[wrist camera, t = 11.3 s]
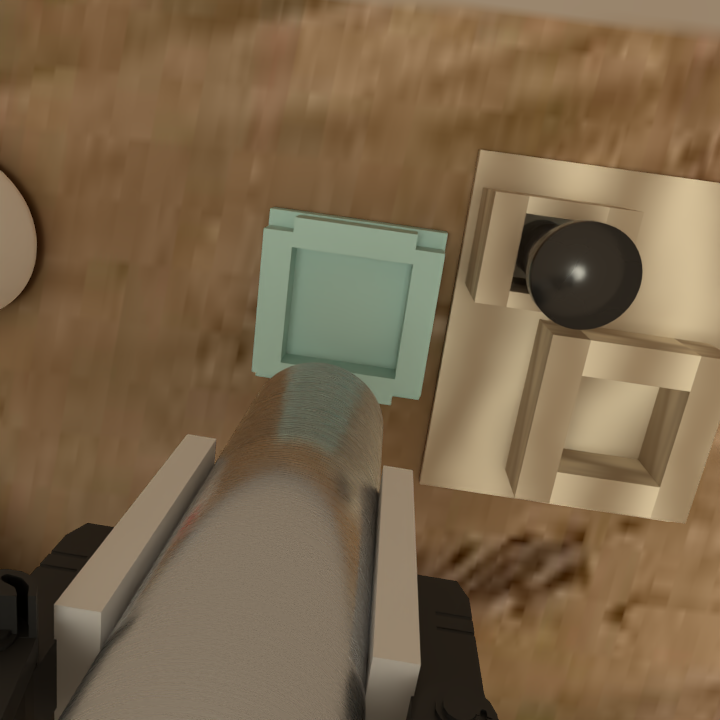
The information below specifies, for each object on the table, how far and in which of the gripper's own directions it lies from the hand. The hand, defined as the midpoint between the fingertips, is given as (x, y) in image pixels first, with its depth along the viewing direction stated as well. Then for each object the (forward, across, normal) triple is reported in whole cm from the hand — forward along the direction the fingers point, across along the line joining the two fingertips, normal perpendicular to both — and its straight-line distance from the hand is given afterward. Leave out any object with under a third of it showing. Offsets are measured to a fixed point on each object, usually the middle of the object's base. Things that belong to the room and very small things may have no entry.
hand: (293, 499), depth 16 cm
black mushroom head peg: (+21, +10, +5) cm, 23 cm away
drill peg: (+5, 0, 0) cm, 5 cm away
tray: (+23, 0, 0) cm, 23 cm away
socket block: (+22, +14, -1) cm, 27 cm away
